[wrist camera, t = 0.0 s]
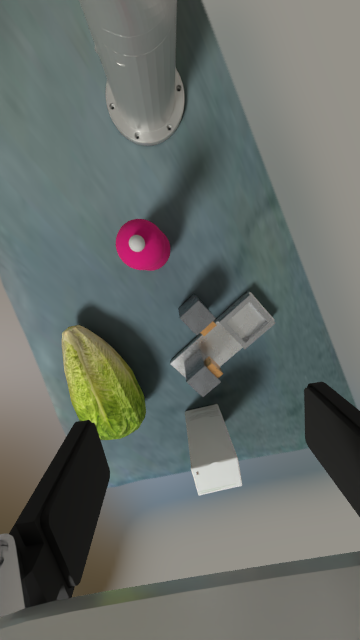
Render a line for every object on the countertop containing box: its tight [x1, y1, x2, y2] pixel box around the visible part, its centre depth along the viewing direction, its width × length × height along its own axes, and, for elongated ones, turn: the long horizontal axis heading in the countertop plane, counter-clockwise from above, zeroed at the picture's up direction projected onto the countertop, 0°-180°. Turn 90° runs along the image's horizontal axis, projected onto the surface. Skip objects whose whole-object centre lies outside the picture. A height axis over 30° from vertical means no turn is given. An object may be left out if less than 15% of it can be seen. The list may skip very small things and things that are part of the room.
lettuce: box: [62, 325, 146, 440], centre depth 45 cm, size 12×24×13 cm
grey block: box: [178, 294, 217, 336], centre depth 43 cm, size 6×4×8 cm
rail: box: [170, 291, 275, 397], centre depth 44 cm, size 8×22×10 cm, turn 134°
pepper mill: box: [116, 219, 170, 271], centre depth 34 cm, size 7×7×20 cm
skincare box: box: [185, 404, 242, 495], centre depth 46 cm, size 8×7×16 cm
